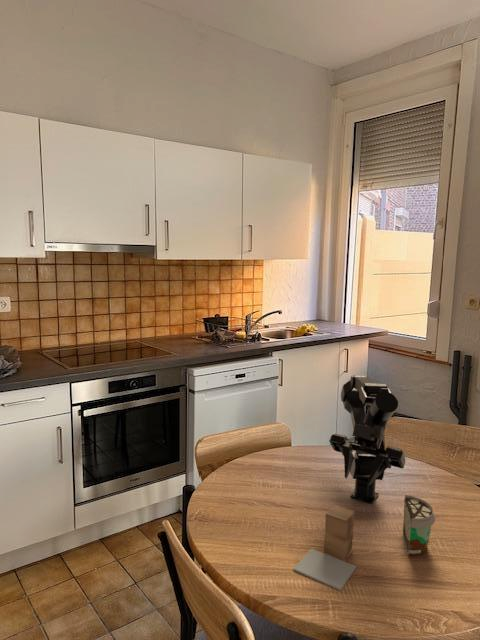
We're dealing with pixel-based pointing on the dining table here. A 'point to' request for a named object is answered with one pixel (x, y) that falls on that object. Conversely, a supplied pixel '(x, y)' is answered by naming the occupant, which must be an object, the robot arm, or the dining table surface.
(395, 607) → the dining table surface
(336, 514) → the walnut block
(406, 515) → the food container
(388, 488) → the dining table surface
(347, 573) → the mat
